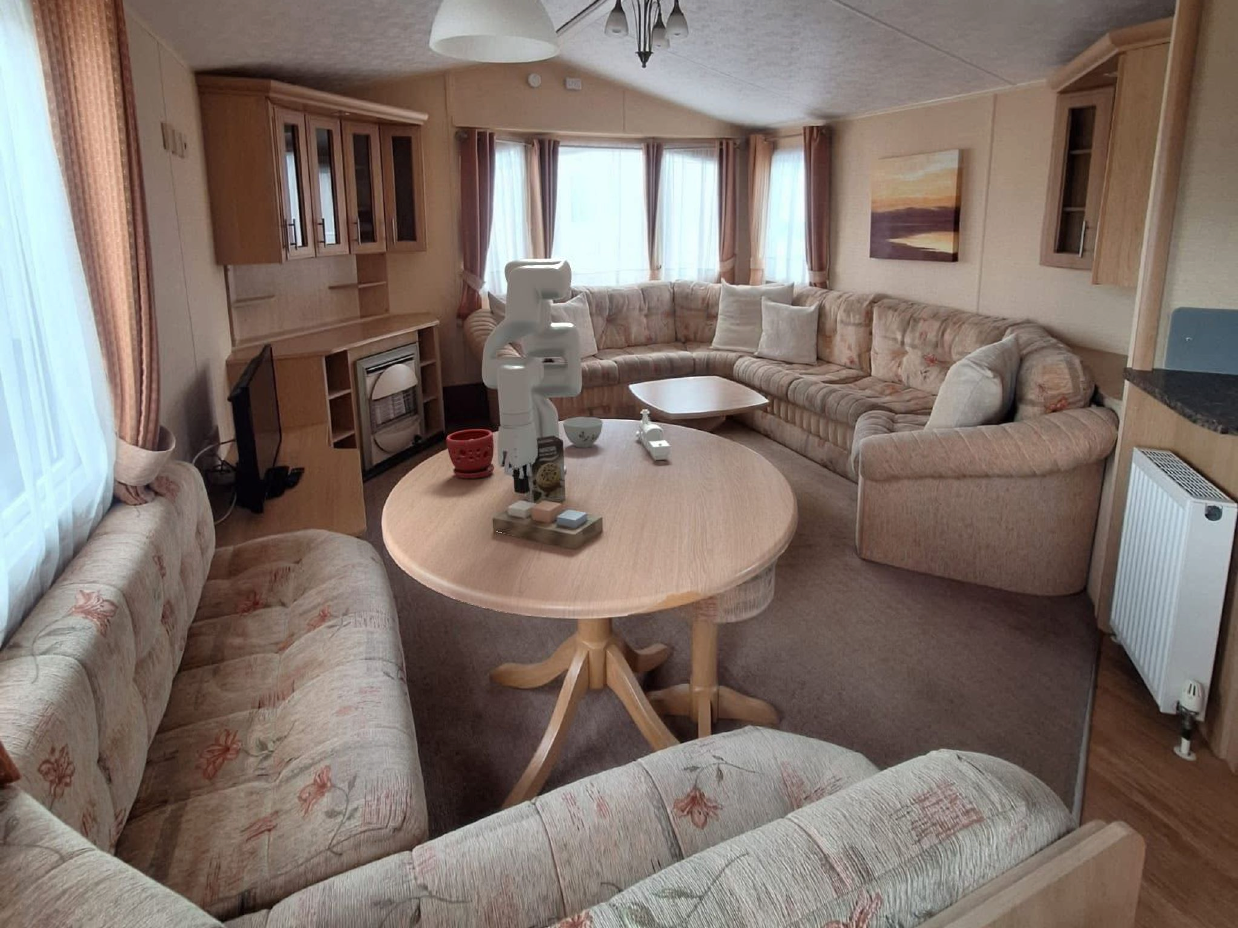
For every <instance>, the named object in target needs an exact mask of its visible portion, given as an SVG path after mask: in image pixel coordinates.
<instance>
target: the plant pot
mask: <svg viewBox="0 0 1238 928" xmlns="http://www.w3.org/2000/svg"><path fill="white" fill-rule="evenodd" d="M445 440H446V447H447V451H448V455H449V458H450V461H451V463H452V465H453V466H454V468H453V471H452V472H453V474H454V475H455V476H456V477H458V478H461V477H462V479H463V478H465V479H469V478H471V479H478V478H479V477H480V478H483V477H486V476H489V475H491V474H492V473H493V471H494V469H495V465H494V464H493V463H492V461H493V458H494V452H495V451H494V448H495V446H494V435H493V432H492V431H491V430H489V429H484V428H483V429H482V428H481V429H480V428H479V429H474V428H473V429H465V430H460V431H455V432H453V433H450V434H448V435H447V437H446V439H445Z"/></svg>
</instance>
